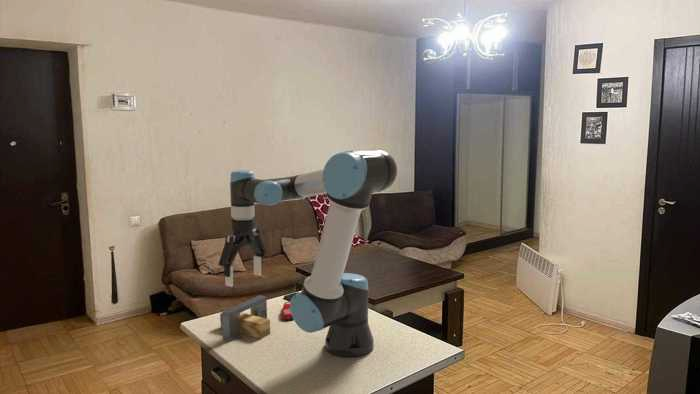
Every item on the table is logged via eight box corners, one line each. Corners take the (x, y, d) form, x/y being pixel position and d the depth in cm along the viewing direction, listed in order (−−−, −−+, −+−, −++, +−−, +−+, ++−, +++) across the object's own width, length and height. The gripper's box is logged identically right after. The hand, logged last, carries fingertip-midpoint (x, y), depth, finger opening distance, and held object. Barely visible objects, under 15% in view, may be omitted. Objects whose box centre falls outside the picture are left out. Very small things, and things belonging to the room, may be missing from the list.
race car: (295, 321, 184) (295, 311, 184) (280, 322, 184) (280, 311, 183) (298, 308, 197) (298, 298, 197) (284, 308, 197) (283, 298, 196)
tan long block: (270, 333, 173) (269, 319, 172) (261, 338, 169) (260, 324, 168) (230, 323, 182) (229, 309, 181) (220, 327, 178) (220, 313, 178)
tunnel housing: (267, 322, 183) (266, 296, 181) (229, 341, 167) (228, 313, 165) (260, 320, 184) (259, 295, 183) (223, 339, 168) (221, 311, 167)
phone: (297, 291, 213) (321, 300, 202) (297, 294, 213) (321, 303, 202) (282, 296, 208) (305, 305, 197) (282, 299, 208) (306, 308, 197)
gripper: (259, 210, 182) (260, 269, 186) (205, 222, 161) (207, 288, 165) (276, 213, 178) (276, 272, 182) (223, 226, 157) (225, 293, 161)
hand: (243, 280), depth 173 cm, fingers open, 13 cm apart
